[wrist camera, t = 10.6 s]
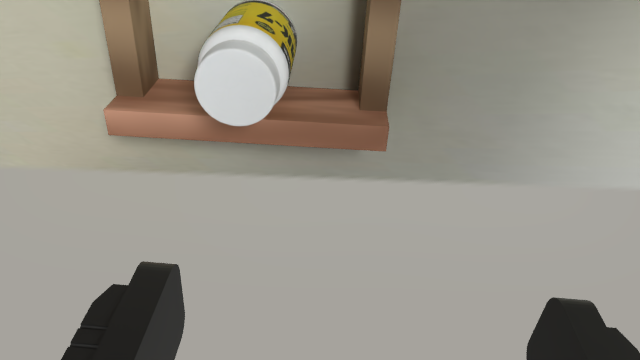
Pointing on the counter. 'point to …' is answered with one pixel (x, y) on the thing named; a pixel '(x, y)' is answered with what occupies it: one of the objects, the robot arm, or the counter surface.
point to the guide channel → (286, 115)
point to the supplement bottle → (246, 63)
